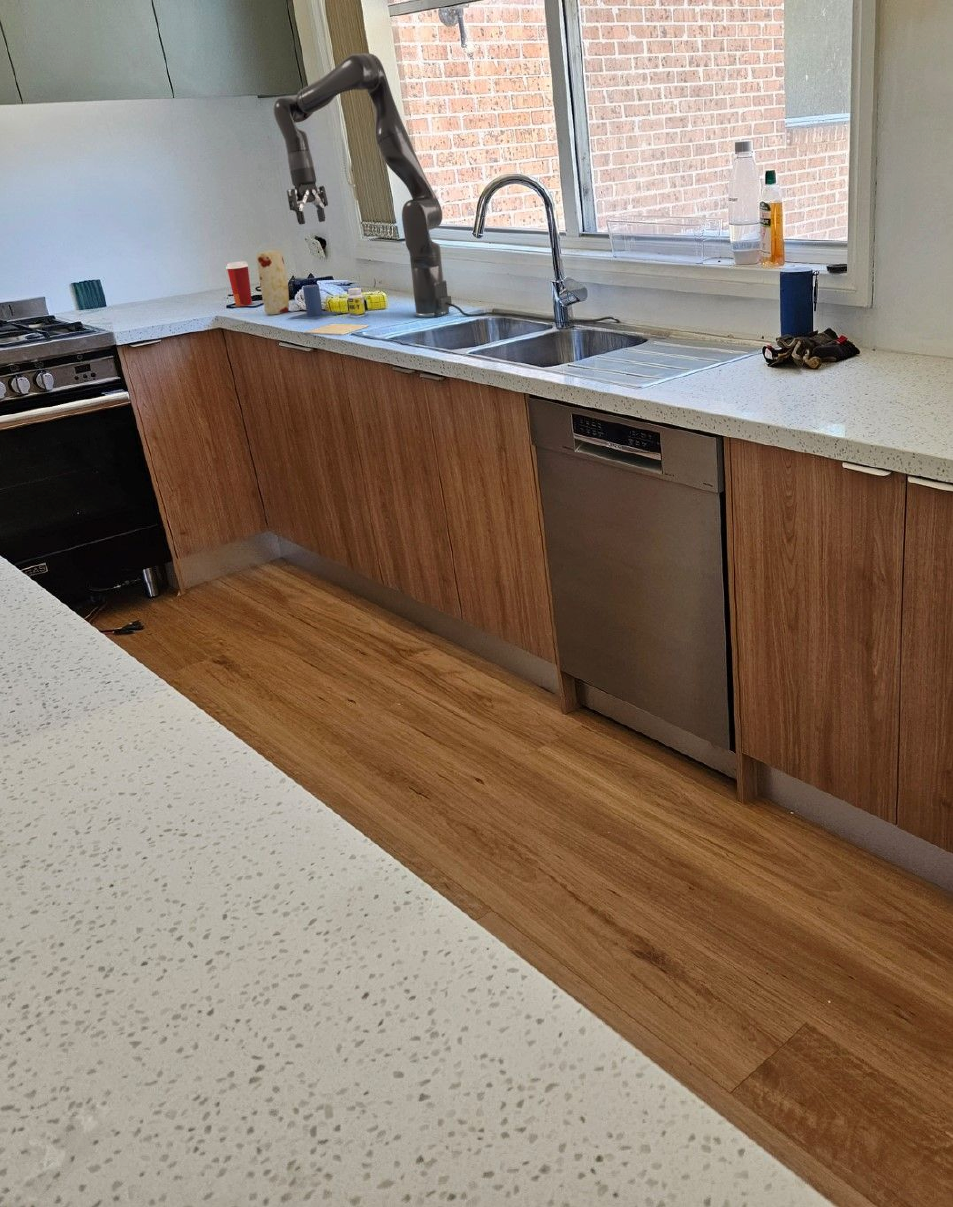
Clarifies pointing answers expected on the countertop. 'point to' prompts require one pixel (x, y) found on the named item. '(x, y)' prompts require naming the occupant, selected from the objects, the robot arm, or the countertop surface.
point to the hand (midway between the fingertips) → (312, 223)
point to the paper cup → (240, 282)
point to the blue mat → (325, 314)
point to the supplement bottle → (356, 302)
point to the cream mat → (337, 329)
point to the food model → (273, 282)
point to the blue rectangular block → (312, 300)
